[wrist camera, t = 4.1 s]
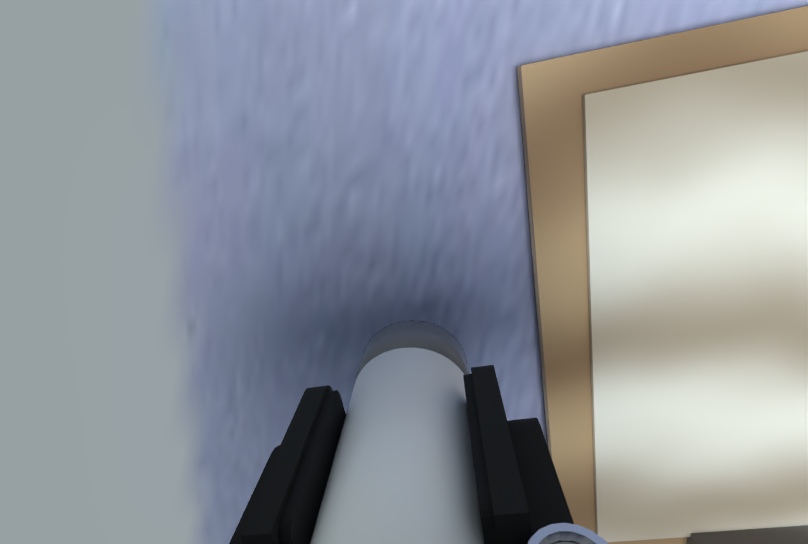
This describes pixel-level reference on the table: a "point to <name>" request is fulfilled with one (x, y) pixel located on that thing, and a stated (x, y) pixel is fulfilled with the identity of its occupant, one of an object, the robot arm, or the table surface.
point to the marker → (404, 447)
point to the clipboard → (675, 280)
